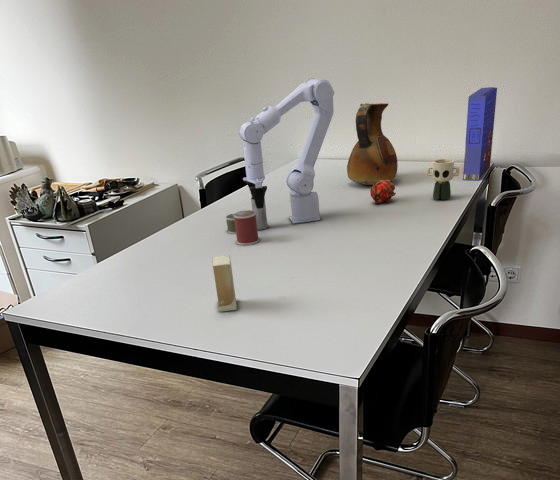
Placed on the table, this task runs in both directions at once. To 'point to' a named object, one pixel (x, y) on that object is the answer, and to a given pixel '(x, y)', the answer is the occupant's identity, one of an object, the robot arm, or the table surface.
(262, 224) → the planter
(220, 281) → the cosmetic box
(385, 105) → the ceramic pitcher
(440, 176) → the character mug
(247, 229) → the tall can
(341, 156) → the table surface
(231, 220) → the short can
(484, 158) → the cereal box
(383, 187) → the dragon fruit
